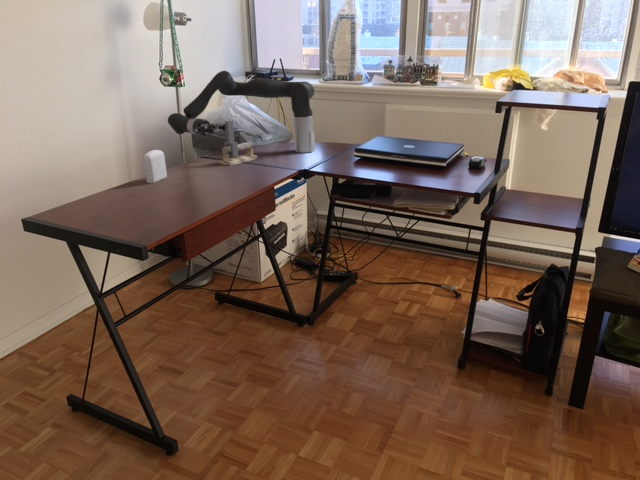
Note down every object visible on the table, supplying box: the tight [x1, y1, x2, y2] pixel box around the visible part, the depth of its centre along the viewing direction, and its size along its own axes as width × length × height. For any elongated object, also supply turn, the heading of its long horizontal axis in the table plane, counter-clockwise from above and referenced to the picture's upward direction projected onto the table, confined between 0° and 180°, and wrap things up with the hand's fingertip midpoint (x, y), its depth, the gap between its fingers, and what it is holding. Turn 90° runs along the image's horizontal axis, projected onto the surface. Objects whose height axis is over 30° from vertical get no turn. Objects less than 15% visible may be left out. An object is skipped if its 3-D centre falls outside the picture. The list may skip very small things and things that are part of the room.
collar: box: [223, 120, 240, 157], centre depth 247 cm, size 3×6×16 cm, turn 50°
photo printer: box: [142, 149, 168, 184], centre depth 222 cm, size 10×4×12 cm, turn 160°
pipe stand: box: [219, 141, 258, 166], centre depth 252 cm, size 17×7×8 cm, turn 140°
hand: (220, 129), depth 249 cm, fingers open, 8 cm apart
